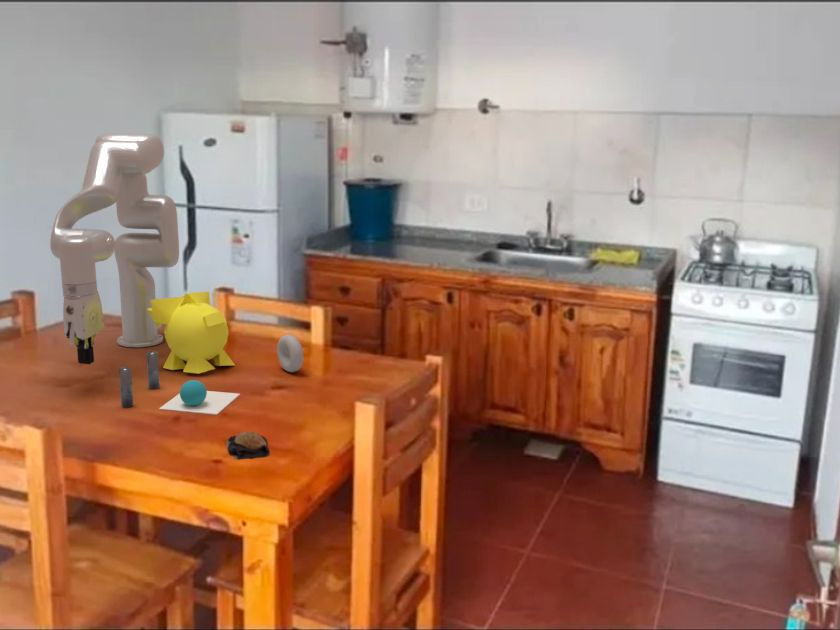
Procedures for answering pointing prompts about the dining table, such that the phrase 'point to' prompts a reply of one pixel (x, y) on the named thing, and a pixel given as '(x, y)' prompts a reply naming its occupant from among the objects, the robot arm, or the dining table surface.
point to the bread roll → (247, 446)
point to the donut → (290, 353)
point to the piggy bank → (192, 332)
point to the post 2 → (153, 370)
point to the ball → (193, 393)
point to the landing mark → (209, 406)
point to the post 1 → (126, 387)
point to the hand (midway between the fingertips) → (86, 362)
